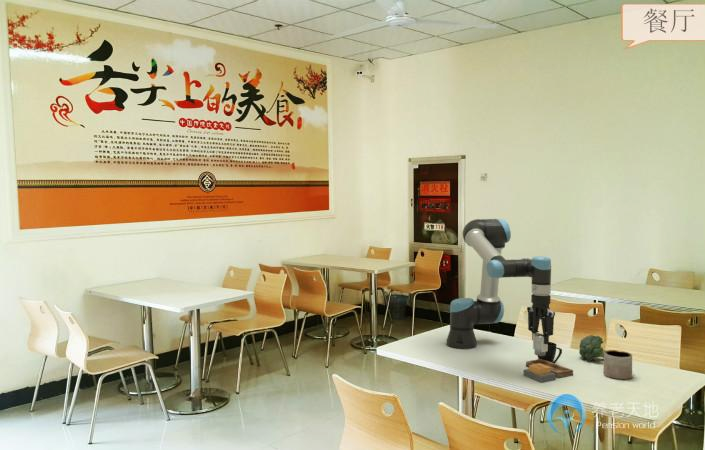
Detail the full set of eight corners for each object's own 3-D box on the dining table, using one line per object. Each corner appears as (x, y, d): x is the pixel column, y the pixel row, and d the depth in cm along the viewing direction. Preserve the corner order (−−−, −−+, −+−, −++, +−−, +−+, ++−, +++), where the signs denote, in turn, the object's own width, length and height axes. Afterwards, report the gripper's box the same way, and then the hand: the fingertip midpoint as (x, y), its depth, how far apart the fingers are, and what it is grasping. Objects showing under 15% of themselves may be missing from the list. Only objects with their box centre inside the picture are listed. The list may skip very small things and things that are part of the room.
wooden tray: (525, 366, 244) (526, 361, 244) (541, 363, 248) (541, 358, 248) (557, 378, 228) (557, 373, 228) (572, 375, 232) (573, 370, 232)
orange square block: (528, 372, 231) (528, 365, 230) (539, 370, 233) (539, 363, 233) (539, 376, 225) (539, 369, 225) (550, 374, 228) (550, 367, 228)
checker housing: (523, 375, 232) (523, 369, 232) (537, 372, 235) (537, 367, 235) (541, 382, 223) (541, 376, 223) (555, 379, 227) (555, 373, 226)
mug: (553, 369, 241) (554, 348, 240) (532, 362, 251) (533, 341, 251) (565, 368, 245) (567, 346, 244) (544, 360, 255) (546, 340, 255)
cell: (532, 353, 229) (532, 333, 229) (540, 352, 231) (540, 332, 231) (540, 356, 226) (540, 335, 225) (547, 355, 227) (548, 334, 227)
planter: (597, 373, 234) (598, 351, 234) (616, 370, 239) (616, 348, 238) (618, 381, 224) (619, 358, 224) (637, 378, 229) (638, 355, 228)
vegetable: (618, 361, 245) (588, 346, 245) (601, 374, 254) (571, 359, 254) (618, 340, 254) (588, 325, 254) (601, 353, 263) (572, 339, 263)
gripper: (519, 291, 233) (518, 346, 234) (550, 298, 218) (549, 356, 219) (532, 290, 237) (531, 344, 238) (563, 296, 221) (562, 354, 222)
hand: (540, 349), depth 228 cm, fingers closed on cell, 4 cm apart
